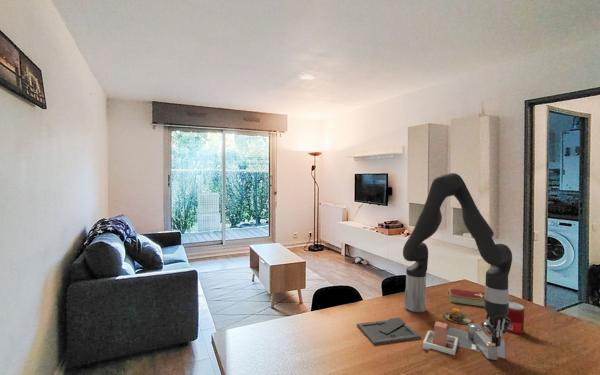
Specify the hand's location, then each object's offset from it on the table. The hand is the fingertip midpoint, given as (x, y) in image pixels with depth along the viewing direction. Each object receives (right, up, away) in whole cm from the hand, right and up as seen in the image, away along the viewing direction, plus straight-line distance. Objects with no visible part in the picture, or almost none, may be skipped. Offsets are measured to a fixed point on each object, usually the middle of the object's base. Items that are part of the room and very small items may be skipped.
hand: (496, 345), depth 114 cm
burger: (0, -4, +29) cm, 29 cm away
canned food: (+19, -4, +20) cm, 28 cm away
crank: (-3, -3, +4) cm, 6 cm away
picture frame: (-35, -4, +18) cm, 39 cm away
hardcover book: (+19, -3, +52) cm, 55 cm away
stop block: (-17, -3, +7) cm, 19 cm away
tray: (-17, -4, +7) cm, 19 cm away
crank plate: (-3, -4, +9) cm, 10 cm away
